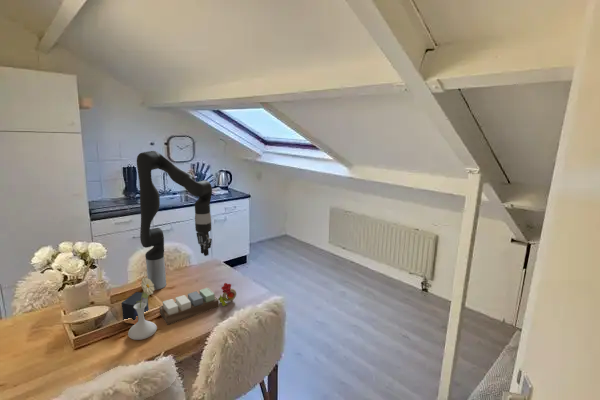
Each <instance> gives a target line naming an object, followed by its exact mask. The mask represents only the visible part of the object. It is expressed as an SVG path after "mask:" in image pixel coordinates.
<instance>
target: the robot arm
mask: <svg viewBox="0 0 600 400" xmlns="http://www.w3.org/2000/svg"><path fill="white" fill-rule="evenodd" d="M136 169H137V175H138V183H139V204H140V205H139V206H140V207H139V208H140V231H139V232H140V233H139V234H140V235H139V238H140V239H139V240H140V244H141V246H142V247H143V248H150V249H149V250H147V252H145V265H146V275H147V278H148V279H150V280H151V281H152V284H154V286H153V287H154V291H155V290H156V291H157V290H161V289H164V288H165V287H166V286H167V279H166V278H167V274H166V264H165V237H164V231H163V230H162V228H161V227H154V228H151V224H152V222H153V220H154V218H155V217H156V215H157V213H158V211H159V209H160V206H161V205H160V203H161V202H160V201H161V200H160V193H159V191H158V189H157V187H156V186H155V185H154V183H153V179H152V171H154V170H161V171H164V172H165V173H166V174H167V175H168V176H169V178H170V180H172V181H173V182H174V183H175V184H178V185H179V186H181V187H183V188H184V189H185V190H186V191H187V192H188V193H190V195H192V196H194V197H196V198H198V199H197V200H196V201H195V202H194V213H195V214H194V225H195V228H194V229H195V232H196V233H195V234H196V238H197V243H198V245H199V247H200V254H203V256H204V257H207V256H209V249H211V247H212V242H213V240H212V238H210V234H209V232H211V231H212V216H211V205H210V204H211V200H212V199H211V198H212V194H213V187H212V186H213V185H212V184H211V182H210V181H209V180H200V181H196V179H195V176H194V175H192V174H191V173H189V172H187V171H186V170H183V169H181V168H180V167H178V165H176V164H174V163H173V162H172V161H170V160H169V159H168V158H166V156H164V155H163V154H162V153H160V152H158V151H156V150H150V151H143V152H141V153H139V154H138V155H137V157H136Z"/></svg>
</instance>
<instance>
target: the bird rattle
mask: <svg viewBox="0 0 600 400" xmlns="http://www.w3.org/2000/svg"><path fill="white" fill-rule="evenodd" d="M220 289H221V290H222V294H220V295H219V297H218V298H217V299H218V300H219V302H220V303H221V306H222V307H224V306H228V304H227V303H228V302H233V301H234V300H235V298H237V291H236V290H235V289H234V288H232V284H231V283H226V282H224V283H223V286H221V288H220ZM226 302H227V303H226Z"/></svg>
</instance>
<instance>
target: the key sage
mask: <svg viewBox="0 0 600 400" xmlns="http://www.w3.org/2000/svg"><path fill="white" fill-rule="evenodd" d="M199 294H200V295H201V296H202V297H203V300H204V301H205V302H206V303H207V302H210V301H213V300H215V297H216V295H215V293H214V292H213V291H212V289H210V288H209V287H205V288H202V289H199Z"/></svg>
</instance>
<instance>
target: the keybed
mask: <svg viewBox="0 0 600 400" xmlns="http://www.w3.org/2000/svg"><path fill="white" fill-rule="evenodd" d="M218 299H219V298H217V297H216V296H215V300H213V301H210V302H207V303H206V302H205V301H204V300H203V304H202V305H199V306H196V307H194V306H193V305H192V304H191V308H190V309H187V310H184V311H181V310H180V309H179V307H178V313H175V314H172V315H169V316H168V314H167V313H166V312H165V310H164V309H163V305H161V306H159V315H160V314H161V315H160V316H161V318H162V320H163V321H164V322H165V324H166V326H169V325H173V324H175V323H178V322H181V321H184V320H187V319H189V318H192V317H196V316H198V315H201V314H204V313H206V312H210V311H213V310H215V309H217V308H219V307H220V304H219V302H220V301H219V300H218ZM174 302H175V303H176V301H174Z"/></svg>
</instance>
